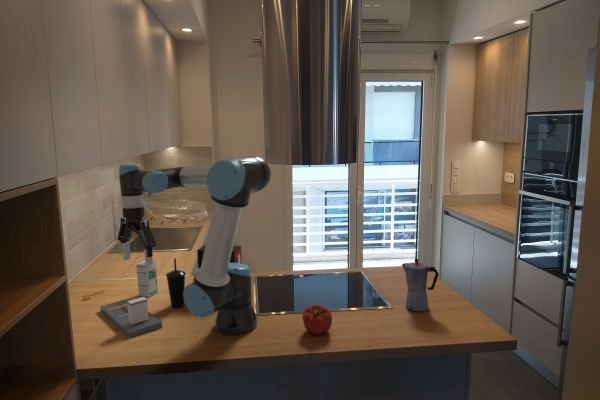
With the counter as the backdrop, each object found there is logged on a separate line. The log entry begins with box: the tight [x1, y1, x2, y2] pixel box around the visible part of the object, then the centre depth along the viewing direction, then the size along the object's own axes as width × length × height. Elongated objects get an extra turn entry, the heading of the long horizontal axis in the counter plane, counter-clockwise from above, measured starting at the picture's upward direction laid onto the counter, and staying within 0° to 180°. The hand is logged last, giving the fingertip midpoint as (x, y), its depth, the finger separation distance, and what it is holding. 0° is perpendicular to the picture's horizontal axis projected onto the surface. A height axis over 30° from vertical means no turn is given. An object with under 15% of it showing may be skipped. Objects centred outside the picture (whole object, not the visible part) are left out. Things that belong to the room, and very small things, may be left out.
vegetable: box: [302, 304, 333, 336], centre depth 153 cm, size 11×10×10 cm
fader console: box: [100, 297, 163, 339], centre depth 166 cm, size 30×12×2 cm, turn 41°
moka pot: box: [401, 258, 439, 312], centre depth 172 cm, size 10×15×20 cm, turn 55°
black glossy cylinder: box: [165, 257, 186, 309], centre depth 176 cm, size 8×8×20 cm
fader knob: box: [127, 296, 149, 325], centre depth 159 cm, size 3×6×8 cm, turn 131°
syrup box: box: [135, 260, 159, 298], centre depth 189 cm, size 6×6×14 cm
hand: (137, 262), depth 164 cm, fingers open, 13 cm apart
